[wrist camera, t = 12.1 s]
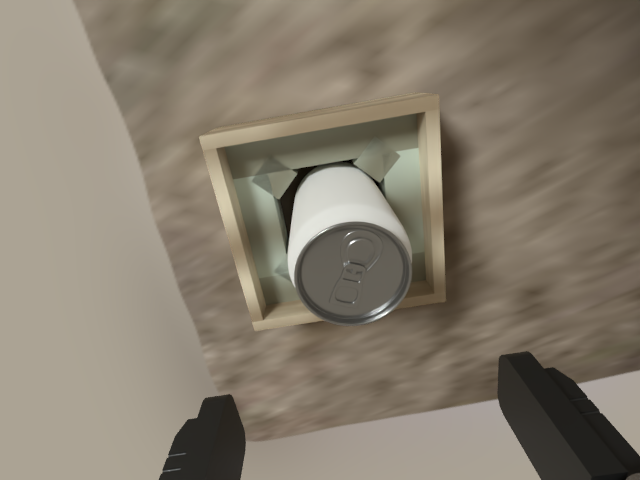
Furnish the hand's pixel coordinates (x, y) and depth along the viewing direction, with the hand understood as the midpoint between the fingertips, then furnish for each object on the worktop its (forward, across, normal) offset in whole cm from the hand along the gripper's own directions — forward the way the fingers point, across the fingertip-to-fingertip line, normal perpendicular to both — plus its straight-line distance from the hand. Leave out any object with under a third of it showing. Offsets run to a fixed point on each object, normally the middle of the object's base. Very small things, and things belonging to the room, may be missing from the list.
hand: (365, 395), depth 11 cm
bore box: (+19, 0, 0) cm, 19 cm away
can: (+19, 0, 0) cm, 19 cm away
